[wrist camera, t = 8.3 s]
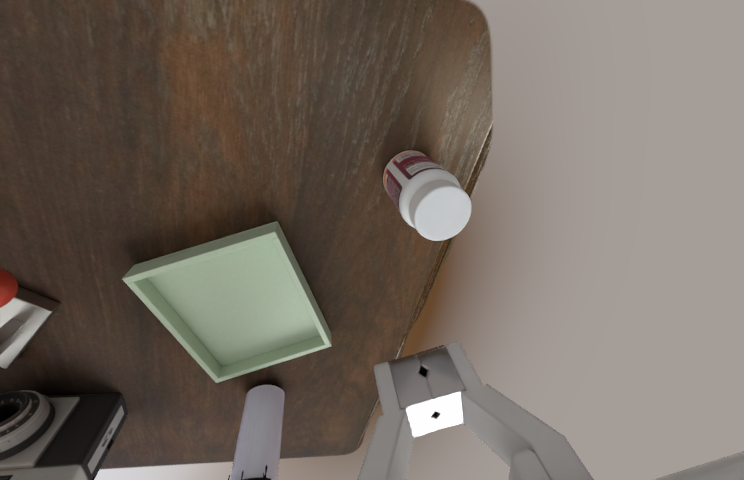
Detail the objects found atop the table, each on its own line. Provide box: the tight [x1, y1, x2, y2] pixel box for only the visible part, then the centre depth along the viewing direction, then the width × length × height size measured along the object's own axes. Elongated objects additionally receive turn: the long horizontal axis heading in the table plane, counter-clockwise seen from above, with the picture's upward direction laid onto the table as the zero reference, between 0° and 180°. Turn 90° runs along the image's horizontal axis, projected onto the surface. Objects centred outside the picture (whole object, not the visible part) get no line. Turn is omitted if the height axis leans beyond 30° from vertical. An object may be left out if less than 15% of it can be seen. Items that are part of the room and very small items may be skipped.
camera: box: [0, 390, 128, 480], centre depth 28 cm, size 14×8×10 cm, turn 78°
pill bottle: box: [383, 150, 471, 241], centre depth 23 cm, size 5×5×8 cm
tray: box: [122, 221, 332, 383], centre depth 30 cm, size 15×13×2 cm
